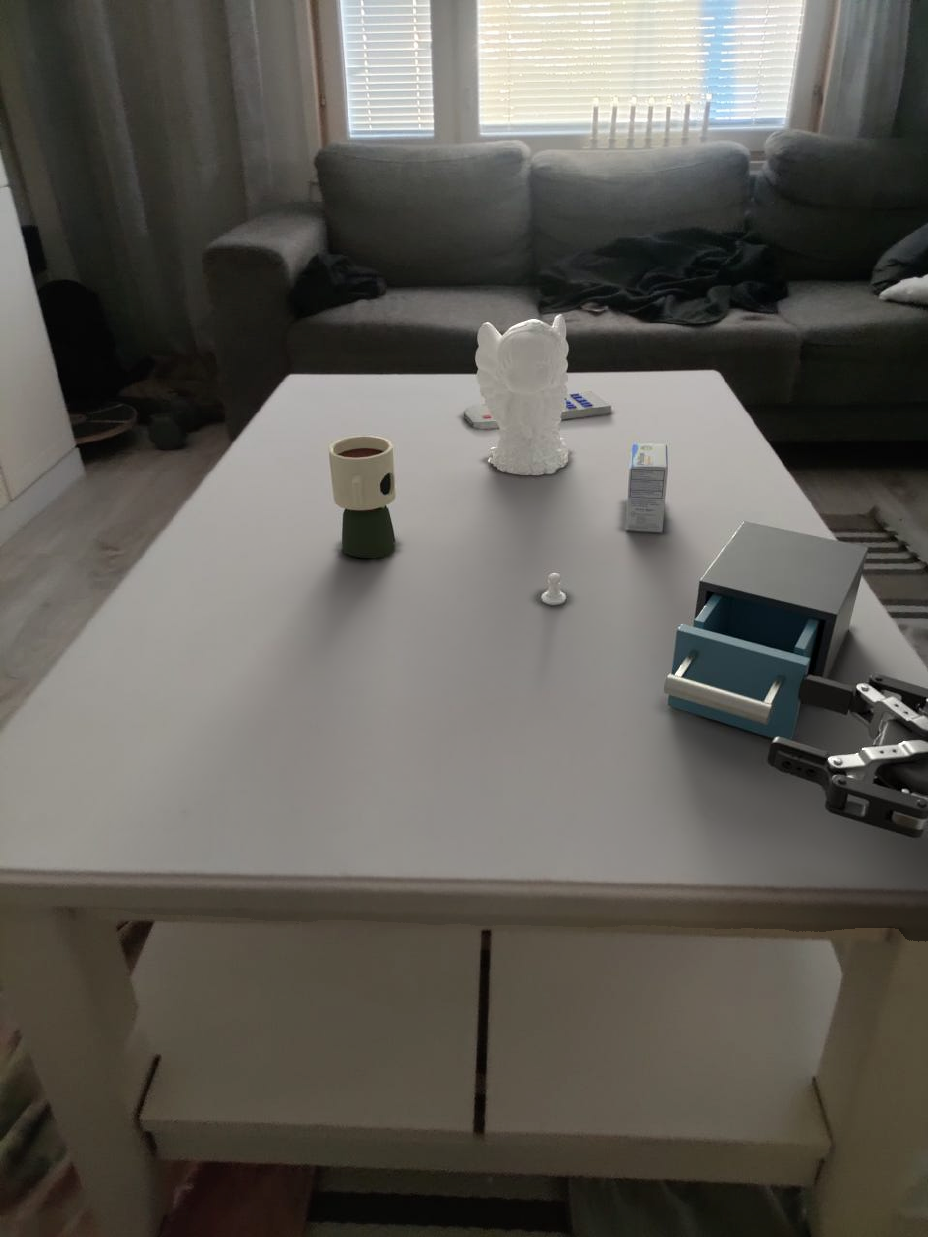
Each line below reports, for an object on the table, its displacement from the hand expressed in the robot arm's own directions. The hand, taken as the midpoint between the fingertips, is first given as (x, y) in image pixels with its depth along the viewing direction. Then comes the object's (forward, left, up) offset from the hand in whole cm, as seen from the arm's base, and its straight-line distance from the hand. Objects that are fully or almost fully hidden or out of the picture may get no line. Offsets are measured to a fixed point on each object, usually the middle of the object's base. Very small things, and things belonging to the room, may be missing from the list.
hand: (785, 717), depth 65 cm
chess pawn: (+27, -17, -7) cm, 33 cm away
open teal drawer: (+5, -8, -6) cm, 12 cm away
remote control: (+55, -68, -7) cm, 88 cm away
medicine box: (+26, -40, -7) cm, 48 cm away
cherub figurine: (+48, -50, -7) cm, 70 cm away
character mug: (+51, -17, -7) cm, 54 cm away
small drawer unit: (+5, -19, -7) cm, 21 cm away
